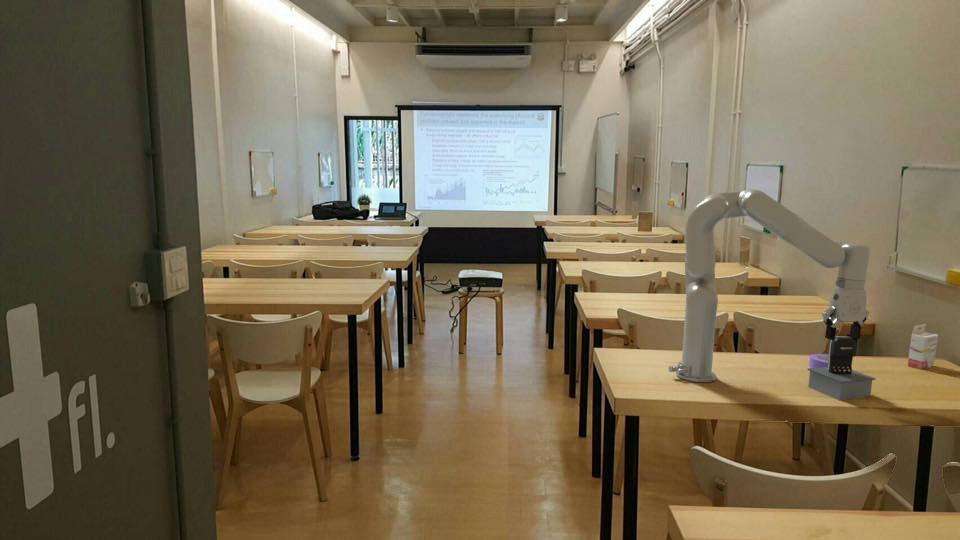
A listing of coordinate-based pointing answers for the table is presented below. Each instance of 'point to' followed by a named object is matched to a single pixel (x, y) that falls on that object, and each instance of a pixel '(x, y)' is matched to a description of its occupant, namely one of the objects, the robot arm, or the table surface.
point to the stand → (840, 383)
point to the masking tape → (818, 360)
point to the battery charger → (841, 355)
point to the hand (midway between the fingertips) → (842, 338)
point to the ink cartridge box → (922, 348)
